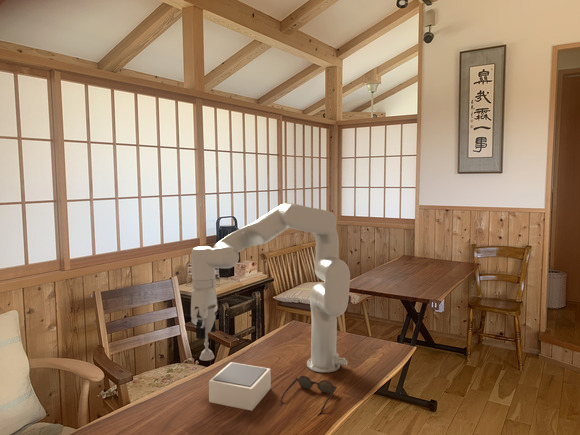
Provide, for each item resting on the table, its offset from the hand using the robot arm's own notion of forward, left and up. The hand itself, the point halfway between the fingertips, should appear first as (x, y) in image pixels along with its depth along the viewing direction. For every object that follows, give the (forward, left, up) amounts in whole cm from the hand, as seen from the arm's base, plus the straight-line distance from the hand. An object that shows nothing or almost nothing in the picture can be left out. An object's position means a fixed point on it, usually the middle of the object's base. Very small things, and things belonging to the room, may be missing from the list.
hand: (206, 334), depth 151 cm
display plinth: (-14, +2, -18) cm, 23 cm away
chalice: (0, 0, -8) cm, 8 cm away
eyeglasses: (-36, -2, -19) cm, 40 cm away
